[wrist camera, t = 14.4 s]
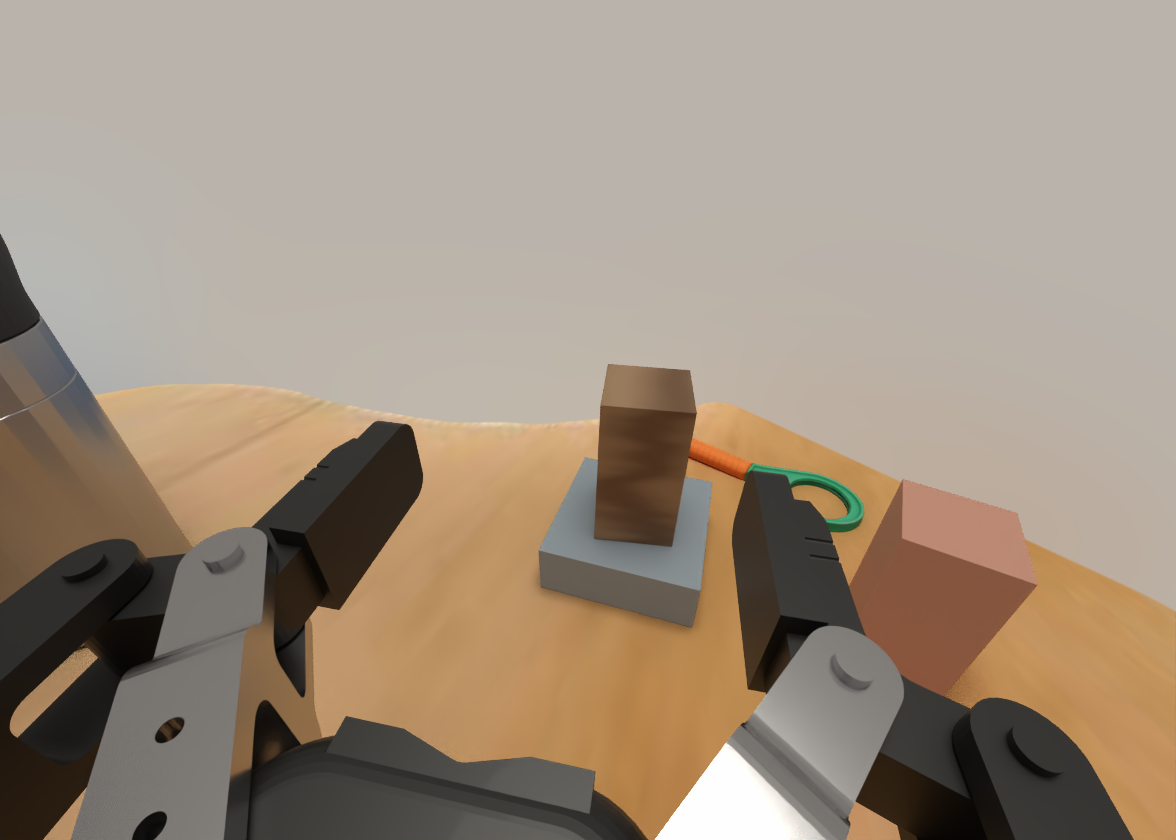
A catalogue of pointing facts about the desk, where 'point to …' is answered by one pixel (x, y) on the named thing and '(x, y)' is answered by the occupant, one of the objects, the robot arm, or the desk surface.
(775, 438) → the desk surface
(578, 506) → the slate base block
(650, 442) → the walnut block
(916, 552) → the brick-red block
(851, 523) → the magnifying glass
